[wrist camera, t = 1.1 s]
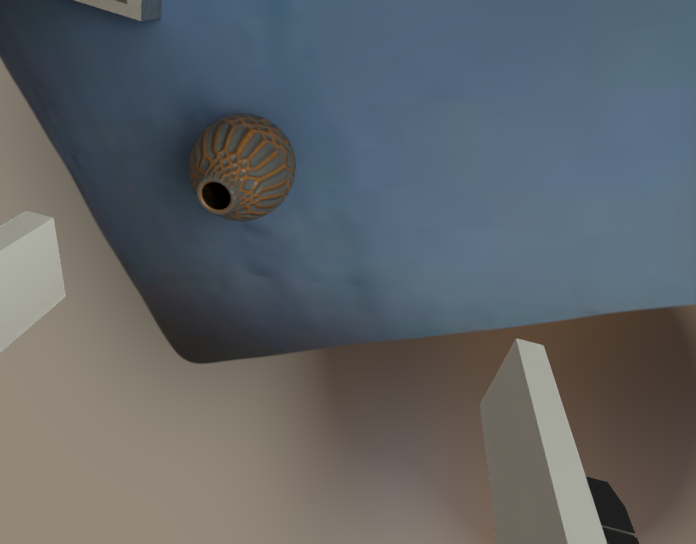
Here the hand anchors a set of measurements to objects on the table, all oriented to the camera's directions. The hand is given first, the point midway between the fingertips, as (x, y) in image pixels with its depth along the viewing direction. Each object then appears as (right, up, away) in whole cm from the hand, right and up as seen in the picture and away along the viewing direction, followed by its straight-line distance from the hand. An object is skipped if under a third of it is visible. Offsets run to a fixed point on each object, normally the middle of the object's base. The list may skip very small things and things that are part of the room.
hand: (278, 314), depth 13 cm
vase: (-5, +10, +22) cm, 25 cm away
